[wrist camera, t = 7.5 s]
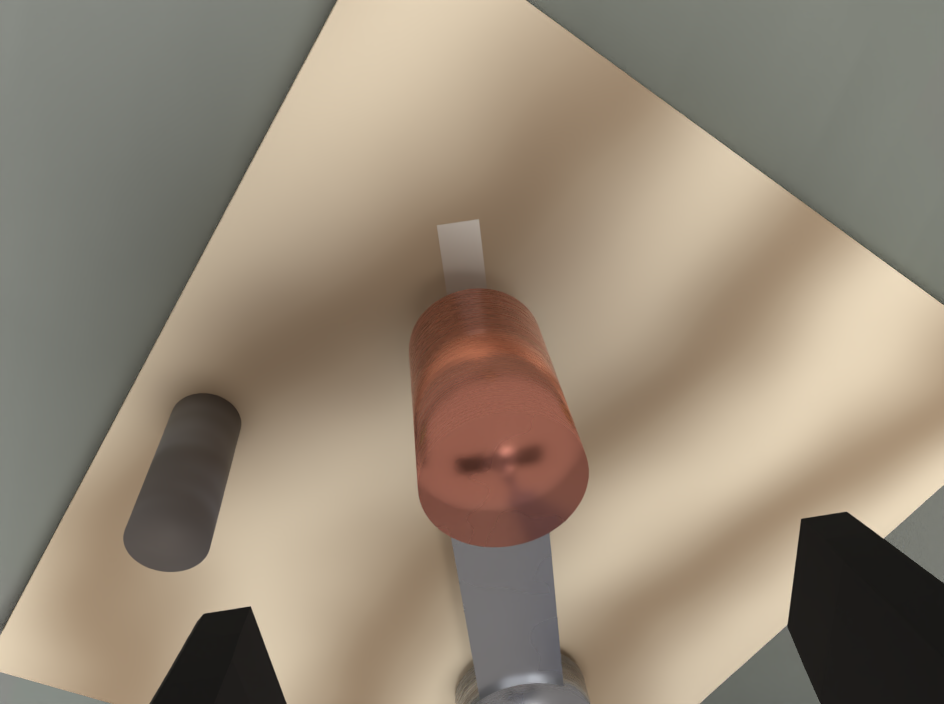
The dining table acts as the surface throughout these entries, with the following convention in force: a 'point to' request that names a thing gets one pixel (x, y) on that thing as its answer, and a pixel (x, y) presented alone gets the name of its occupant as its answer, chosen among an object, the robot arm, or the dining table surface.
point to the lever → (498, 486)
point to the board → (570, 349)
